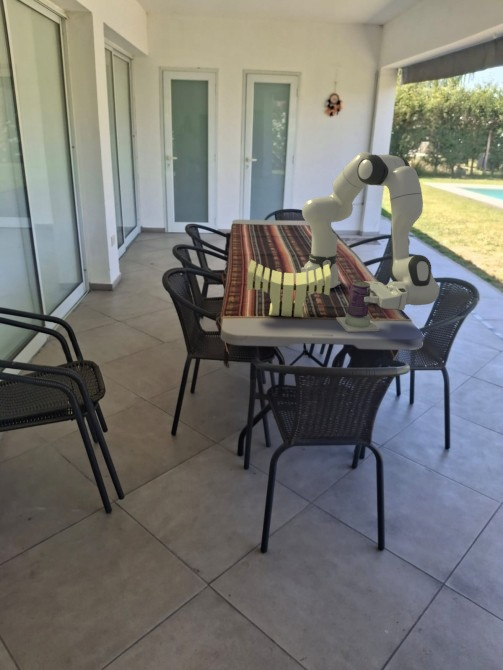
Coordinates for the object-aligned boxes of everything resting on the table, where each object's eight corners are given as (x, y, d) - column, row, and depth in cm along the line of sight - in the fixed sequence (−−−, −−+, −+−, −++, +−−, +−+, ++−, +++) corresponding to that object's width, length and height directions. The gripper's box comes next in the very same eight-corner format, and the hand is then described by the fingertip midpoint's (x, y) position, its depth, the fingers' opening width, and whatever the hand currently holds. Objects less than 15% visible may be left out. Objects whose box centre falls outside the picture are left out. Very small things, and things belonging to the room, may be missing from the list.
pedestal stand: (336, 319, 184) (337, 309, 182) (366, 318, 186) (367, 309, 184) (347, 331, 173) (348, 322, 171) (379, 330, 175) (380, 321, 173)
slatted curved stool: (246, 316, 183) (247, 270, 176) (249, 302, 198) (251, 259, 190) (326, 321, 181) (331, 275, 174) (324, 306, 196) (328, 263, 189)
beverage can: (364, 311, 181) (368, 280, 176) (369, 318, 175) (373, 286, 170) (345, 311, 181) (349, 280, 176) (349, 318, 174) (353, 286, 170)
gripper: (384, 276, 185) (349, 277, 182) (409, 294, 166) (370, 295, 164) (381, 292, 187) (347, 293, 185) (406, 311, 169) (368, 312, 167)
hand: (358, 294), depth 174 cm, fingers open, 8 cm apart
